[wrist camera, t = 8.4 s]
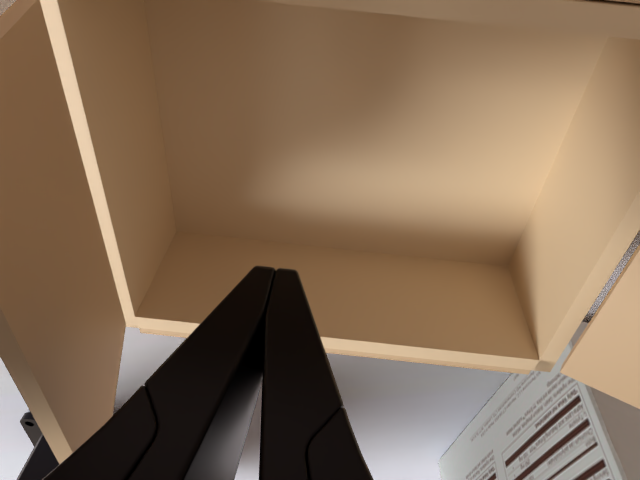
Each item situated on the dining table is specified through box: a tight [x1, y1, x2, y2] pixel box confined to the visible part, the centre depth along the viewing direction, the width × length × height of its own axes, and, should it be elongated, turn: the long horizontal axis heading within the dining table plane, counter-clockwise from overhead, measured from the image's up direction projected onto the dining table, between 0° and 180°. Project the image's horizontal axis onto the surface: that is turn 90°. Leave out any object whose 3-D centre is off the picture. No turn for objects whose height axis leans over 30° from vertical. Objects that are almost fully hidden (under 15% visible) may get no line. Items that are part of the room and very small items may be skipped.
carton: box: [40, 0, 640, 375], centre depth 13 cm, size 11×13×4 cm
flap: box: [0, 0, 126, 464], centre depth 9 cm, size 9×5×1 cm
